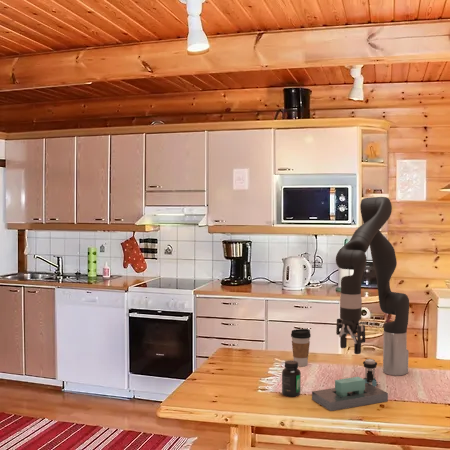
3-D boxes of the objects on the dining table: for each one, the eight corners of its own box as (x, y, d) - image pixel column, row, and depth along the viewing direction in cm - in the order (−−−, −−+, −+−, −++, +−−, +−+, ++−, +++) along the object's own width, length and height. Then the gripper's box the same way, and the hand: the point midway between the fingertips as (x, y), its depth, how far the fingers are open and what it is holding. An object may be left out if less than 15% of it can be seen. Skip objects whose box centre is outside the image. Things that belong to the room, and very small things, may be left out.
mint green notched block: (358, 396, 213) (358, 376, 212) (364, 400, 209) (365, 379, 208) (334, 400, 209) (335, 380, 208) (341, 404, 205) (341, 383, 205)
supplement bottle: (303, 396, 213) (303, 364, 212) (285, 398, 212) (285, 365, 211) (296, 390, 220) (297, 358, 219) (279, 391, 218) (279, 360, 218)
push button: (379, 383, 227) (379, 358, 226) (381, 388, 222) (382, 362, 221) (361, 383, 228) (362, 358, 227) (363, 387, 222) (364, 362, 222)
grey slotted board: (367, 390, 219) (367, 382, 219) (387, 401, 208) (387, 393, 208) (311, 399, 210) (312, 391, 210) (330, 411, 199) (330, 402, 199)
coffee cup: (311, 367, 248) (312, 332, 248) (291, 367, 248) (292, 332, 248) (309, 361, 257) (309, 328, 256) (289, 361, 257) (290, 327, 256)
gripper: (371, 308, 202) (371, 354, 203) (347, 301, 215) (347, 345, 216) (353, 310, 199) (353, 357, 200) (330, 303, 212) (330, 347, 213)
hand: (350, 350), depth 208 cm, fingers open, 8 cm apart
